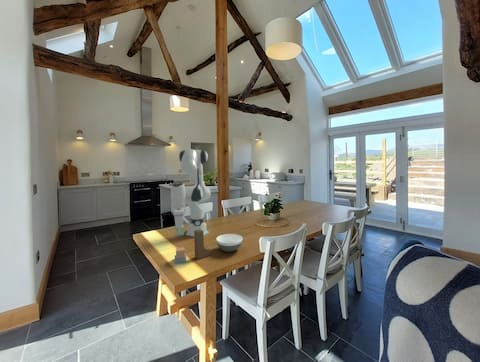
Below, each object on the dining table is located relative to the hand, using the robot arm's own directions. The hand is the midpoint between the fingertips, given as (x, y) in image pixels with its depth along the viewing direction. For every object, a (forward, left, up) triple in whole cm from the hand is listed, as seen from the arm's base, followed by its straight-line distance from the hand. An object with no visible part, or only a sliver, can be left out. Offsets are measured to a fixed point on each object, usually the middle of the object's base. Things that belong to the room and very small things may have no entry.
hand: (179, 230), depth 141 cm
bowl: (-9, +33, -20) cm, 40 cm away
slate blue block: (0, 0, -19) cm, 19 cm away
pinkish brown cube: (0, 0, -17) cm, 17 cm away
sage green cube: (0, 0, -2) cm, 2 cm away
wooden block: (-2, +14, -20) cm, 24 cm away
